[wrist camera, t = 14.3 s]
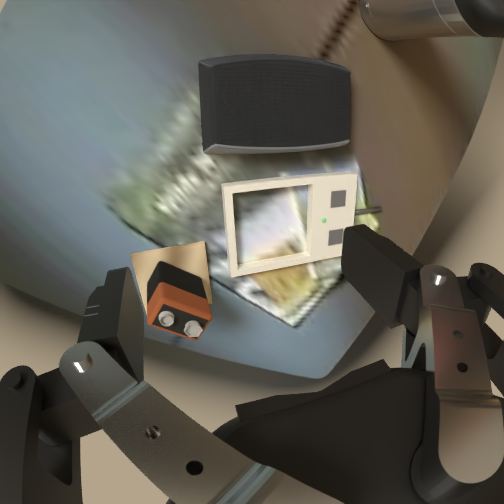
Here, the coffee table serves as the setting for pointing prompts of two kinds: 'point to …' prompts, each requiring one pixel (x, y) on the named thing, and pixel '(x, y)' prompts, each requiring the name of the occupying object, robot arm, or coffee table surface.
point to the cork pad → (178, 256)
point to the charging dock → (318, 217)
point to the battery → (177, 302)
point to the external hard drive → (273, 104)
